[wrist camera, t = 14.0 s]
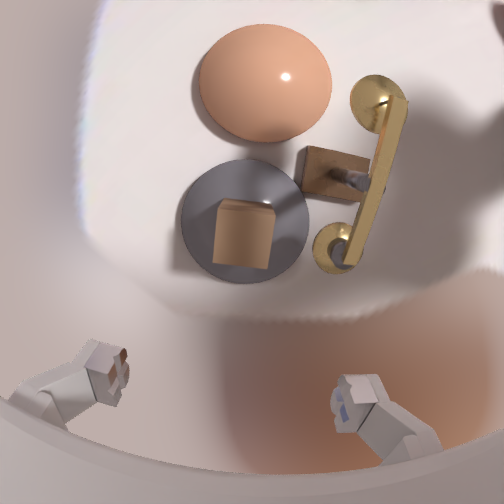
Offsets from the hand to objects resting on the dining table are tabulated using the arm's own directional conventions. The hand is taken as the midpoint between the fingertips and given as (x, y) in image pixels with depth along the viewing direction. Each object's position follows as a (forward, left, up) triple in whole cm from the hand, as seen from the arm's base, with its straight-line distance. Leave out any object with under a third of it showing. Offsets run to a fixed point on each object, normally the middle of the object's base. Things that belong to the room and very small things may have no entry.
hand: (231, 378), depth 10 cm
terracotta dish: (0, -16, -24) cm, 29 cm away
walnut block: (0, 0, -23) cm, 23 cm away
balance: (-9, -7, -24) cm, 26 cm away
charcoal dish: (0, 0, -24) cm, 24 cm away
